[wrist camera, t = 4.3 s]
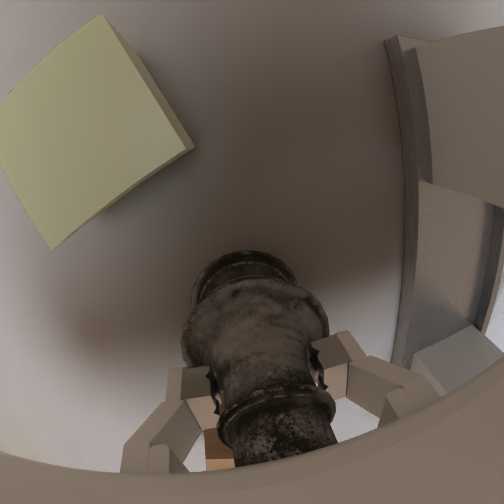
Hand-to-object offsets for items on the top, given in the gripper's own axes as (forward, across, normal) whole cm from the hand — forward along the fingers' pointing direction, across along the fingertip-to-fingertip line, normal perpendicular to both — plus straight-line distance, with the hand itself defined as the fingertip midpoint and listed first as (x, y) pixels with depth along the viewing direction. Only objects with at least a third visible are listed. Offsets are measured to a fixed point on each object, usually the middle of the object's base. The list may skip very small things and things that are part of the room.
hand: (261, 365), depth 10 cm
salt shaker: (+5, 0, 0) cm, 5 cm away
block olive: (+5, +4, -9) cm, 11 cm away
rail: (+5, -13, +1) cm, 14 cm away
